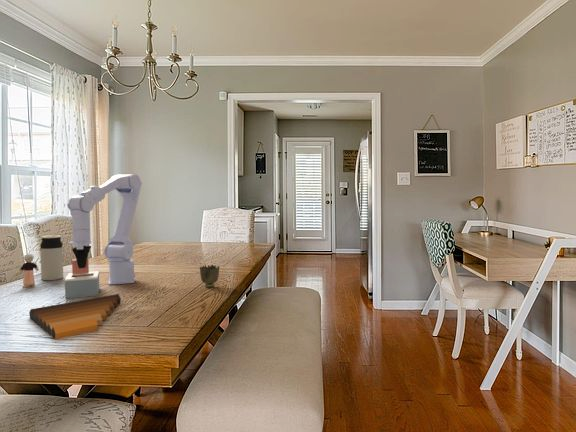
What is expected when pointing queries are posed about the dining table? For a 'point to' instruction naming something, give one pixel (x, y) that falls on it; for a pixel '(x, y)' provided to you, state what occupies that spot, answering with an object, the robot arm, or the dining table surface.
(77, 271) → the pink rectangular block
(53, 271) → the travel mug
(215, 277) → the cup
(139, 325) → the dining table surface
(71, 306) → the pan flute
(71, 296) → the coin box
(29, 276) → the grandmother figurine
